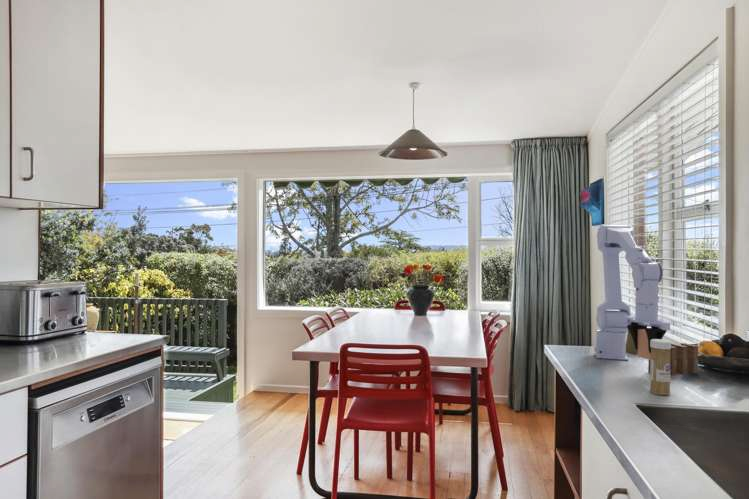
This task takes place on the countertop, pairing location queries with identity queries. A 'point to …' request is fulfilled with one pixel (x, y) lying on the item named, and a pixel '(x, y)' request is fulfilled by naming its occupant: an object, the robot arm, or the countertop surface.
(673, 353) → the domino
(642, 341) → the domino
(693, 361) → the domino
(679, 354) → the domino
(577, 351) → the countertop surface
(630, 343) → the cork
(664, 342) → the toothpick jar
